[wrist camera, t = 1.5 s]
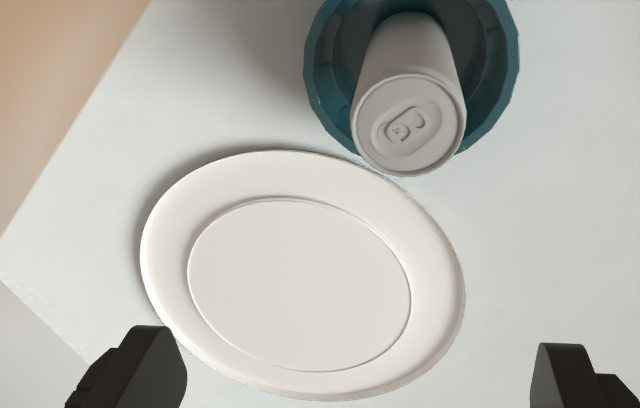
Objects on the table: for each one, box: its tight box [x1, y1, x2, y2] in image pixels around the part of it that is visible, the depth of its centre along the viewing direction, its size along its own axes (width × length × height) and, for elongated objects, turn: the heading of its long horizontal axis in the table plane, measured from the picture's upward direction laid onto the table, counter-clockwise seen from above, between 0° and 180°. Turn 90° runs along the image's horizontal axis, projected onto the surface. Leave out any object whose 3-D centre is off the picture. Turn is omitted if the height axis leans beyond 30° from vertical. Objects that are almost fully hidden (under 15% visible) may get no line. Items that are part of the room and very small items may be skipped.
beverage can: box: [350, 11, 467, 177], centre depth 24 cm, size 5×5×12 cm
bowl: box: [303, 0, 520, 157], centre depth 28 cm, size 11×11×5 cm
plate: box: [140, 150, 466, 402], centre depth 42 cm, size 28×28×1 cm
